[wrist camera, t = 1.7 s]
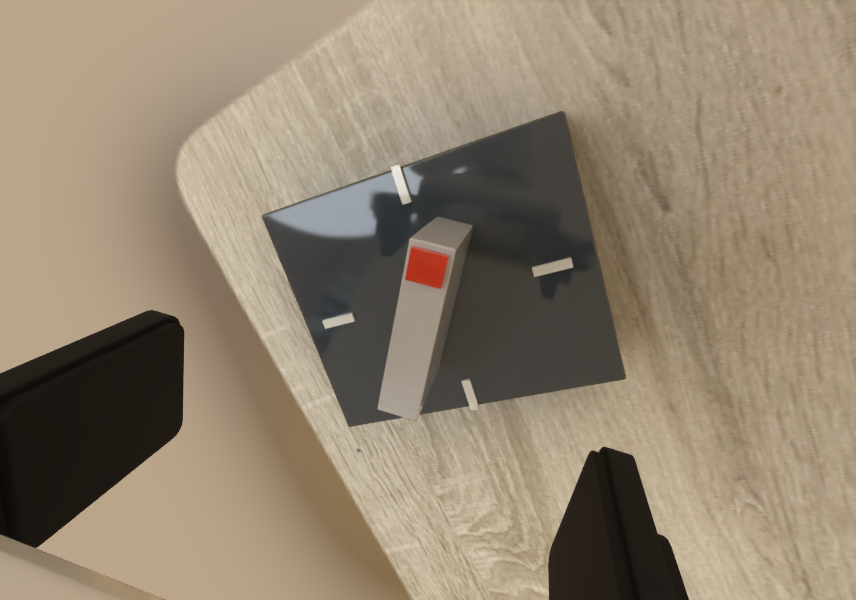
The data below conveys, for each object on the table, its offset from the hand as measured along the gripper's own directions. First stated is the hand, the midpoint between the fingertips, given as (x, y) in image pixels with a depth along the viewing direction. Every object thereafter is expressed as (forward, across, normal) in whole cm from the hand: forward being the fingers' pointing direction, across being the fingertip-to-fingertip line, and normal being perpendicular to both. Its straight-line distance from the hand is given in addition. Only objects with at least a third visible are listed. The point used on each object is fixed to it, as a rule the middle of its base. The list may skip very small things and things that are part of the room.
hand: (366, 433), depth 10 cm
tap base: (+12, 0, 0) cm, 12 cm away
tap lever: (+9, 0, 0) cm, 9 cm away
